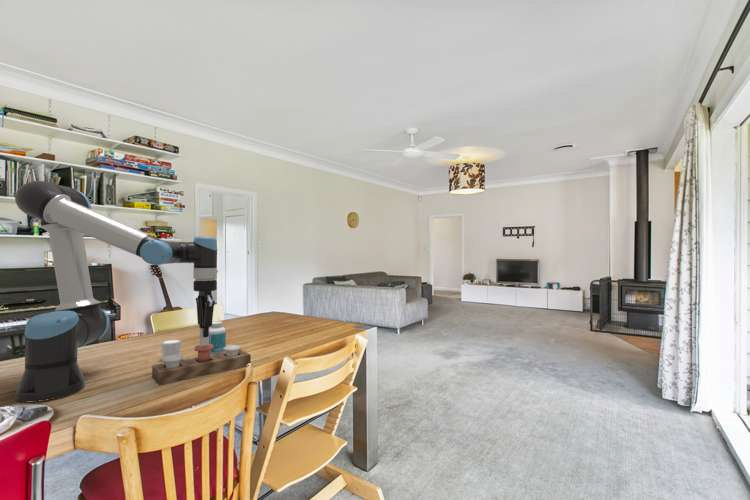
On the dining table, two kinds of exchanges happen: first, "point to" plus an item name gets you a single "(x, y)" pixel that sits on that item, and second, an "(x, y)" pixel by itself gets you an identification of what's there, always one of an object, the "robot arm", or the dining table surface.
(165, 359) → the grey plug left
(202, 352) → the brick-red plug
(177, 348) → the light grey flanged plug
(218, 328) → the pill bottle
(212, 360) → the press board
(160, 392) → the dining table surface
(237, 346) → the grey plug right
